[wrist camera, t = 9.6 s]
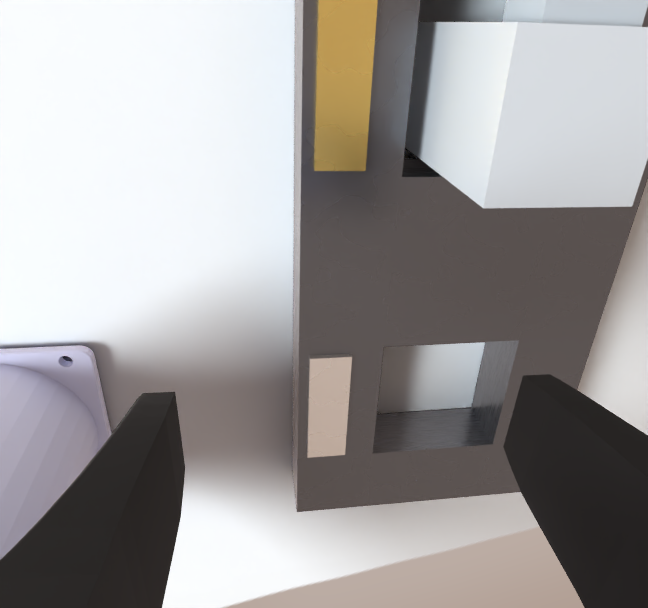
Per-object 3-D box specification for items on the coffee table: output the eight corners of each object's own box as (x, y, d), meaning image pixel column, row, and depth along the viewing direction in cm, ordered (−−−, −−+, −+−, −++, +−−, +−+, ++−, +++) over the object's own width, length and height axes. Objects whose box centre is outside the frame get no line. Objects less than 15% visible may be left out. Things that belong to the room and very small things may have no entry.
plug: (405, 147, 19) (483, 208, 13) (421, -4, 16) (524, -18, 10) (509, 148, 19) (631, 206, 13) (538, 2, 17) (702, -9, 11)
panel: (292, 470, 26) (297, 515, 23) (296, -165, 14) (306, -202, 12) (519, 452, 27) (545, 492, 25) (687, -131, 16) (765, -157, 13)
